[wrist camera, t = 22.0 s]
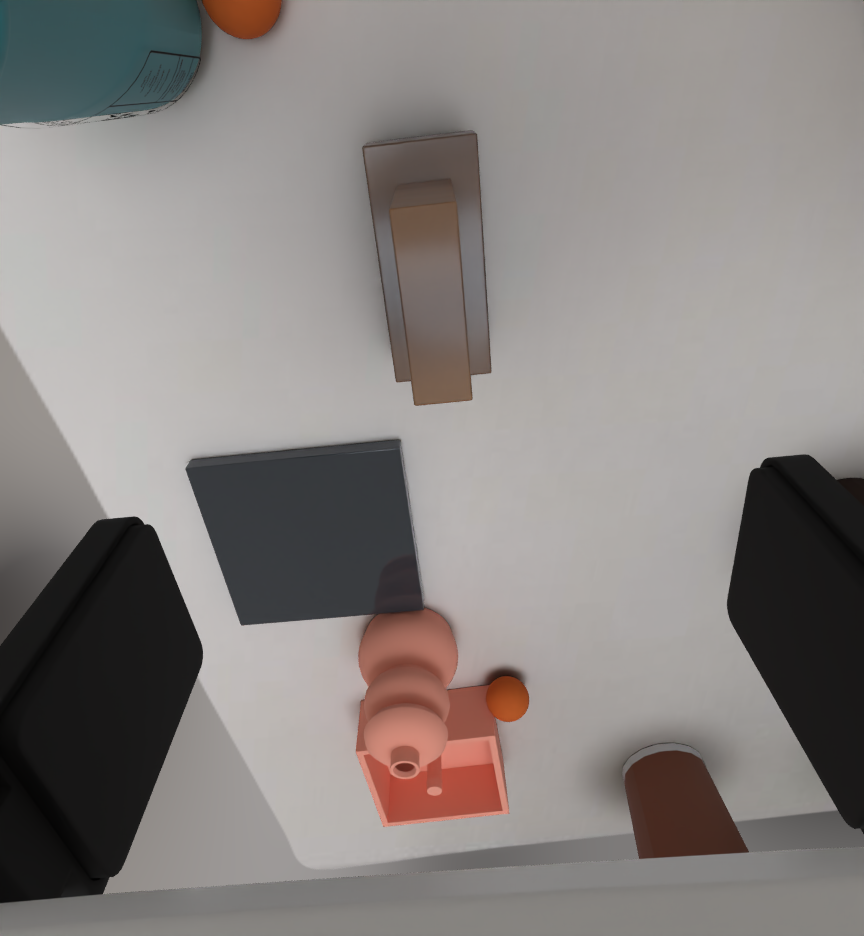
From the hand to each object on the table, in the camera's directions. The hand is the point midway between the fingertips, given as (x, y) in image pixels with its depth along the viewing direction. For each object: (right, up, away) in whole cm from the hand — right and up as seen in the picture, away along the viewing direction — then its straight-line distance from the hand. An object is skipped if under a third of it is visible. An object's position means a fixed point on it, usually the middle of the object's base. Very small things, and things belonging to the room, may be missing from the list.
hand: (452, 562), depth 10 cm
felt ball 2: (+5, -15, +34) cm, 37 cm away
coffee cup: (+18, -22, +41) cm, 50 cm away
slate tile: (-7, -3, +29) cm, 30 cm away
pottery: (-1, -15, +36) cm, 39 cm away
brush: (0, +12, +20) cm, 23 cm away
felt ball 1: (-7, +19, +14) cm, 25 cm away
